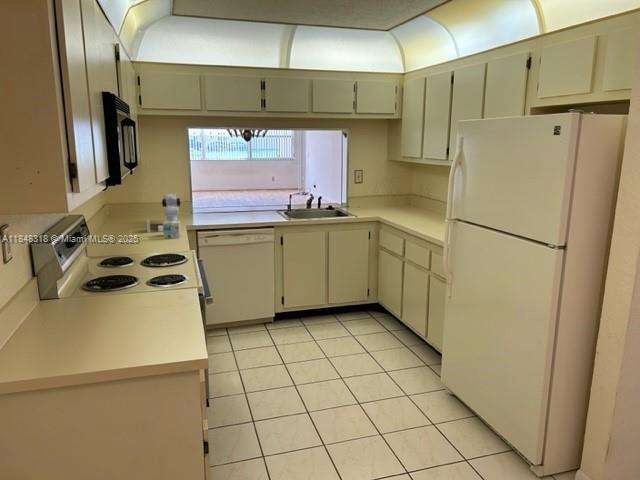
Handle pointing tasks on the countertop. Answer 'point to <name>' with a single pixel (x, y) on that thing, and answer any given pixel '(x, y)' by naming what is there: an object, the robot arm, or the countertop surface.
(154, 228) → the shelf
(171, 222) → the light bulb box
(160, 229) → the book
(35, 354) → the countertop surface
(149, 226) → the bookend
